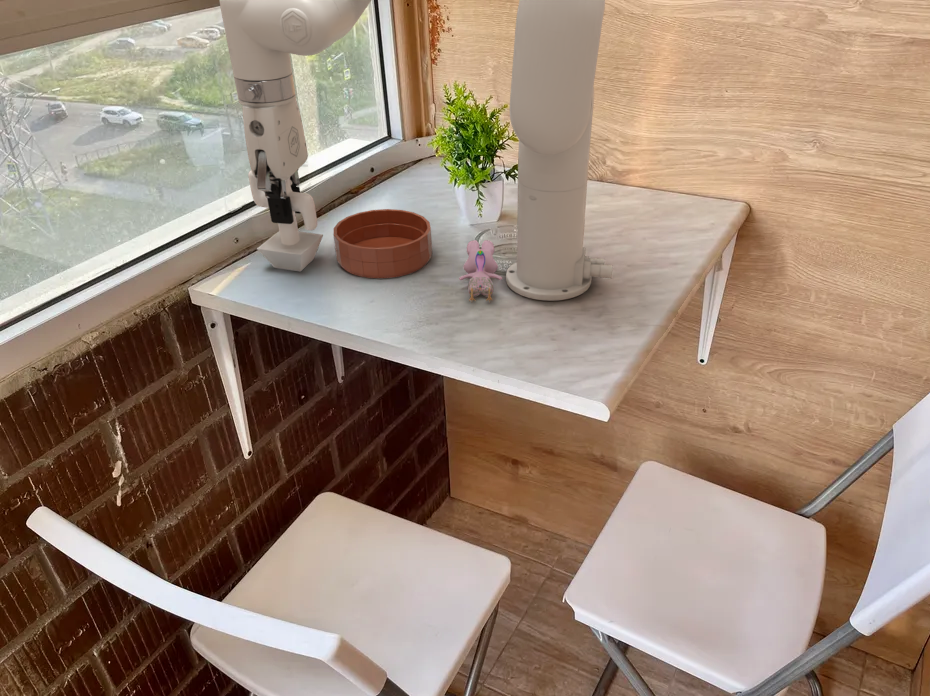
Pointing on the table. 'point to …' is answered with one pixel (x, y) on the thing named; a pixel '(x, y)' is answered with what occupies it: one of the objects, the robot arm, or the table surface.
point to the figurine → (290, 230)
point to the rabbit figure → (480, 269)
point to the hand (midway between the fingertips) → (287, 216)
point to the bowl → (383, 243)
